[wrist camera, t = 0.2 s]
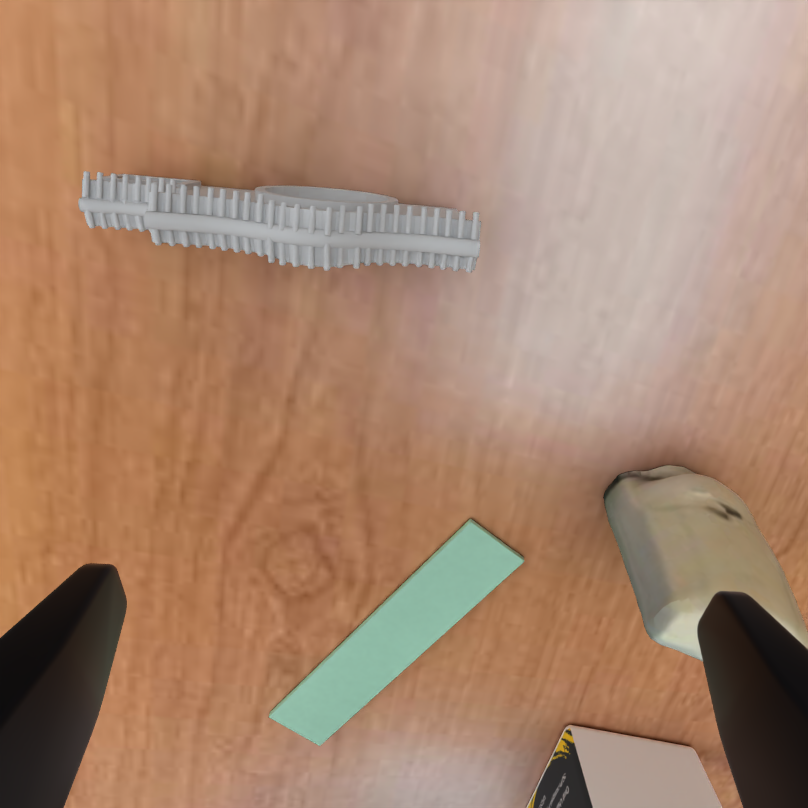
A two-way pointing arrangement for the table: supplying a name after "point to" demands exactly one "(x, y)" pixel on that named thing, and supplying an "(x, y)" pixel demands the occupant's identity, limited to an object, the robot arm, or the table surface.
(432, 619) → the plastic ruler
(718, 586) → the beige rounded chunk
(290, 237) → the garden wall model
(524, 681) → the table surface
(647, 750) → the security camera
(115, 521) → the table surface
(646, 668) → the table surface
